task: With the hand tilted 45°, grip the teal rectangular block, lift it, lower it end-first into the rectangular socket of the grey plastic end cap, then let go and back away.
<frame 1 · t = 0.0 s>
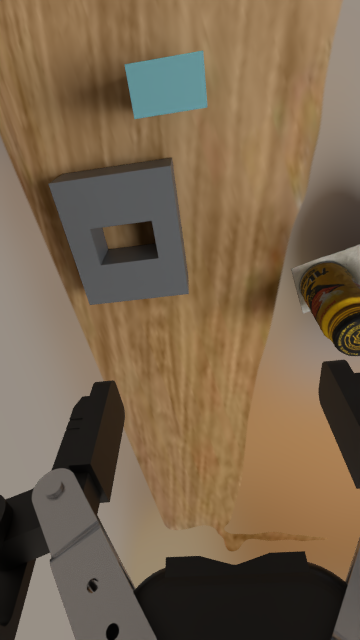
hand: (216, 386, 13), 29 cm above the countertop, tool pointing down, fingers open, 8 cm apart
teal rectangular block: (172, 87, 32), on the countertop
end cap: (130, 229, 40), on the countertop
condiment: (328, 279, 43), on the countertop
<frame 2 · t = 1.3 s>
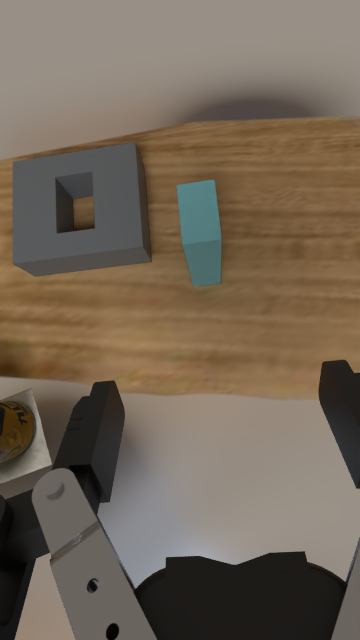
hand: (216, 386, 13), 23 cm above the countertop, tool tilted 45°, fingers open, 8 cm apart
teal rectangular block: (204, 263, 38), on the countertop
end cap: (90, 221, 40), on the countertop
condiment: (13, 436, 37), on the countertop
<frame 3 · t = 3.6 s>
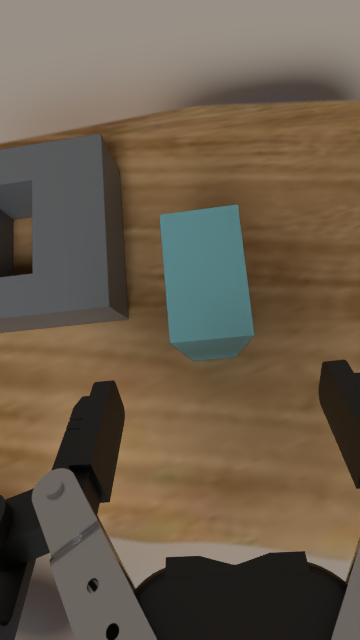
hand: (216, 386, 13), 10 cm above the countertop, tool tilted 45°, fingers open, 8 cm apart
teal rectangular block: (210, 324, 24), on the countertop
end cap: (37, 254, 27), on the countertop
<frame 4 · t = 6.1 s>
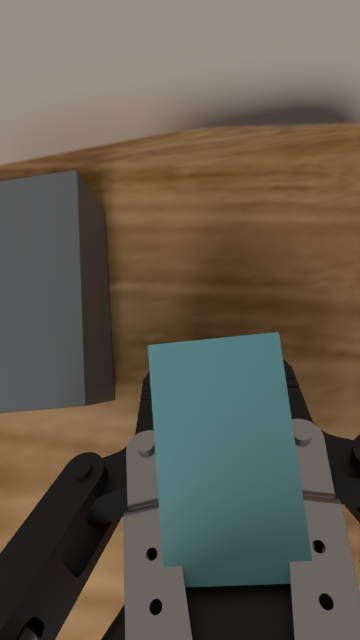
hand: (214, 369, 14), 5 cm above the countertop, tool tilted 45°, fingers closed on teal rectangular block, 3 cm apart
teal rectangular block: (219, 408, 19), on the countertop, touching gripper
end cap: (3, 313, 21), on the countertop
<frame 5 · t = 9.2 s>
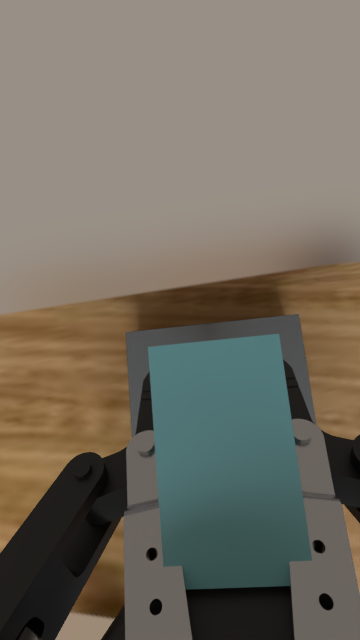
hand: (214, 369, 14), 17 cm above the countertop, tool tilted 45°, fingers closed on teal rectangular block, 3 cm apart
teal rectangular block: (219, 409, 19), point 12 cm above the countertop, touching gripper
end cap: (218, 396, 30), on the countertop
when the fingers open (7 cm above the countertop, at t = 12.1 s): teal rectangular block drops 1 cm, resting in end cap.
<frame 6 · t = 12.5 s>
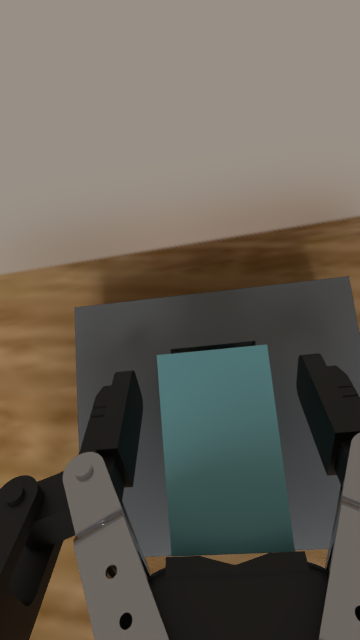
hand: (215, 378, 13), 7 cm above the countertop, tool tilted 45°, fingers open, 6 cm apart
teal rectangular block: (219, 407, 20), resting in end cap
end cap: (218, 406, 20), on the countertop
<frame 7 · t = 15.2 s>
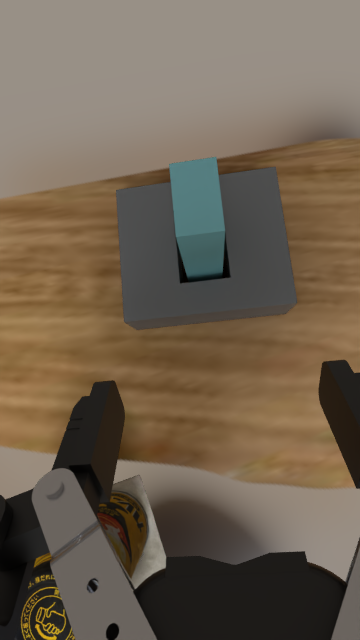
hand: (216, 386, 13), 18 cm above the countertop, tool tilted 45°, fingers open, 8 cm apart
teal rectangular block: (203, 262, 32), resting in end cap
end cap: (203, 261, 32), on the countertop
condiment: (117, 536, 29), on the countertop
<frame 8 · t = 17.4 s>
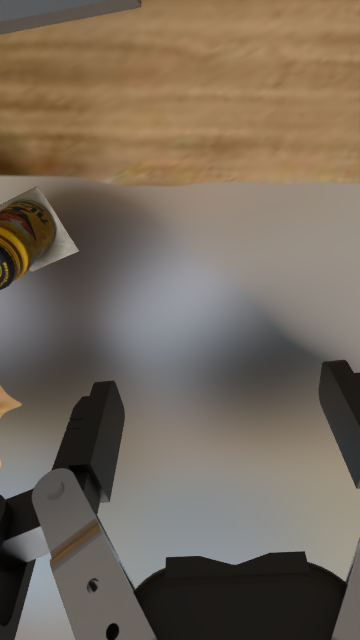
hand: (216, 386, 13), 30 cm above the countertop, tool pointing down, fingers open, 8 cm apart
condiment: (35, 230, 41), on the countertop
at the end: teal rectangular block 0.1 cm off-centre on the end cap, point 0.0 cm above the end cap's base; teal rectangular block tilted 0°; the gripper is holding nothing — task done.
